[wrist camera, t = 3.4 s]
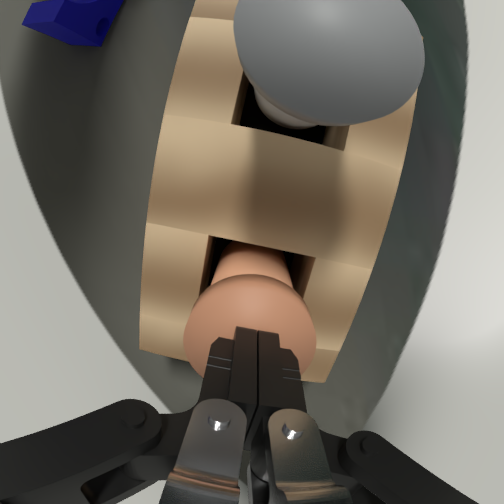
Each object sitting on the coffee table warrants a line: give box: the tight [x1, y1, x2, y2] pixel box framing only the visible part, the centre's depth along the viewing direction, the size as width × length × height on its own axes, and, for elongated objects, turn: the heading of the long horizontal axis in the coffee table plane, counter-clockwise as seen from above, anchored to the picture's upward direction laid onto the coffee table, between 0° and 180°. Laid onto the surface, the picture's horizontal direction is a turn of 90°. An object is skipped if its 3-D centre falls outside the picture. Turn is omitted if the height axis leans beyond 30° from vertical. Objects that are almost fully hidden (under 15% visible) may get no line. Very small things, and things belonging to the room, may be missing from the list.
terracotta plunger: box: [183, 240, 316, 378], centre depth 14 cm, size 5×5×8 cm
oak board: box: [139, 0, 423, 383], centre depth 15 cm, size 20×11×5 cm, turn 168°
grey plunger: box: [233, 0, 425, 129], centre depth 9 cm, size 5×5×8 cm
